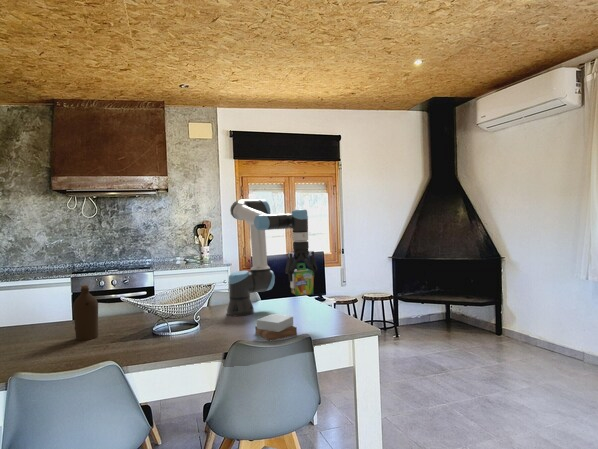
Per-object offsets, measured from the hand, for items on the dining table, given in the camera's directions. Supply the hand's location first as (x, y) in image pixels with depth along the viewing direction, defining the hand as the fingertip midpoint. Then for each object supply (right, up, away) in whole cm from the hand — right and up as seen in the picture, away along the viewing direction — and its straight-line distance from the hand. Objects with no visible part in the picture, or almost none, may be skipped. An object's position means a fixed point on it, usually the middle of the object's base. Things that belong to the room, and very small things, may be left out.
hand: (302, 286), depth 195 cm
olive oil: (-102, -24, -5) cm, 105 cm away
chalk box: (0, -4, 0) cm, 4 cm away
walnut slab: (-12, -21, -11) cm, 27 cm away
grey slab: (-12, -17, -11) cm, 24 cm away
